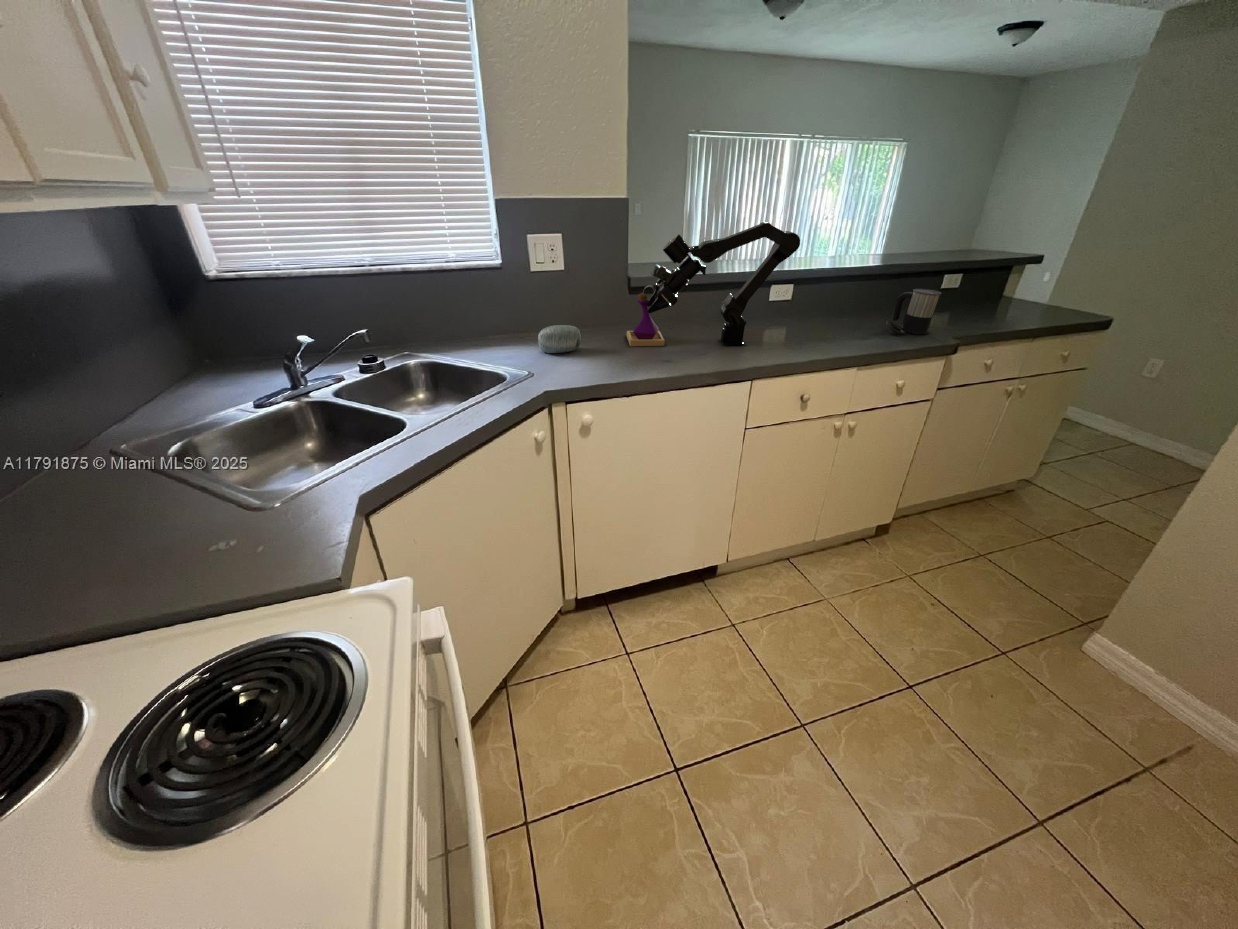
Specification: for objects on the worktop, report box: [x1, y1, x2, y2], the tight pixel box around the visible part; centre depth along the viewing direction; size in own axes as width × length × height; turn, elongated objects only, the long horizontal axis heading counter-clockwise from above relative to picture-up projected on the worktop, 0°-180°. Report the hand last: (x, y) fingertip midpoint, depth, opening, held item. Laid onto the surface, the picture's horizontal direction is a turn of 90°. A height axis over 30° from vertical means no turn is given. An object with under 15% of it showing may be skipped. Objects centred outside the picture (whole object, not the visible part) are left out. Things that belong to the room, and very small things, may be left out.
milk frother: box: [886, 288, 942, 335], centre depth 180 cm, size 14×16×15 cm
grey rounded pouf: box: [537, 324, 582, 354], centre depth 154 cm, size 14×10×10 cm
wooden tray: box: [626, 330, 666, 347], centre depth 167 cm, size 12×12×2 cm
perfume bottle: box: [632, 284, 660, 340], centre depth 163 cm, size 8×8×18 cm
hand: (647, 308), depth 162 cm, fingers open, 9 cm apart
